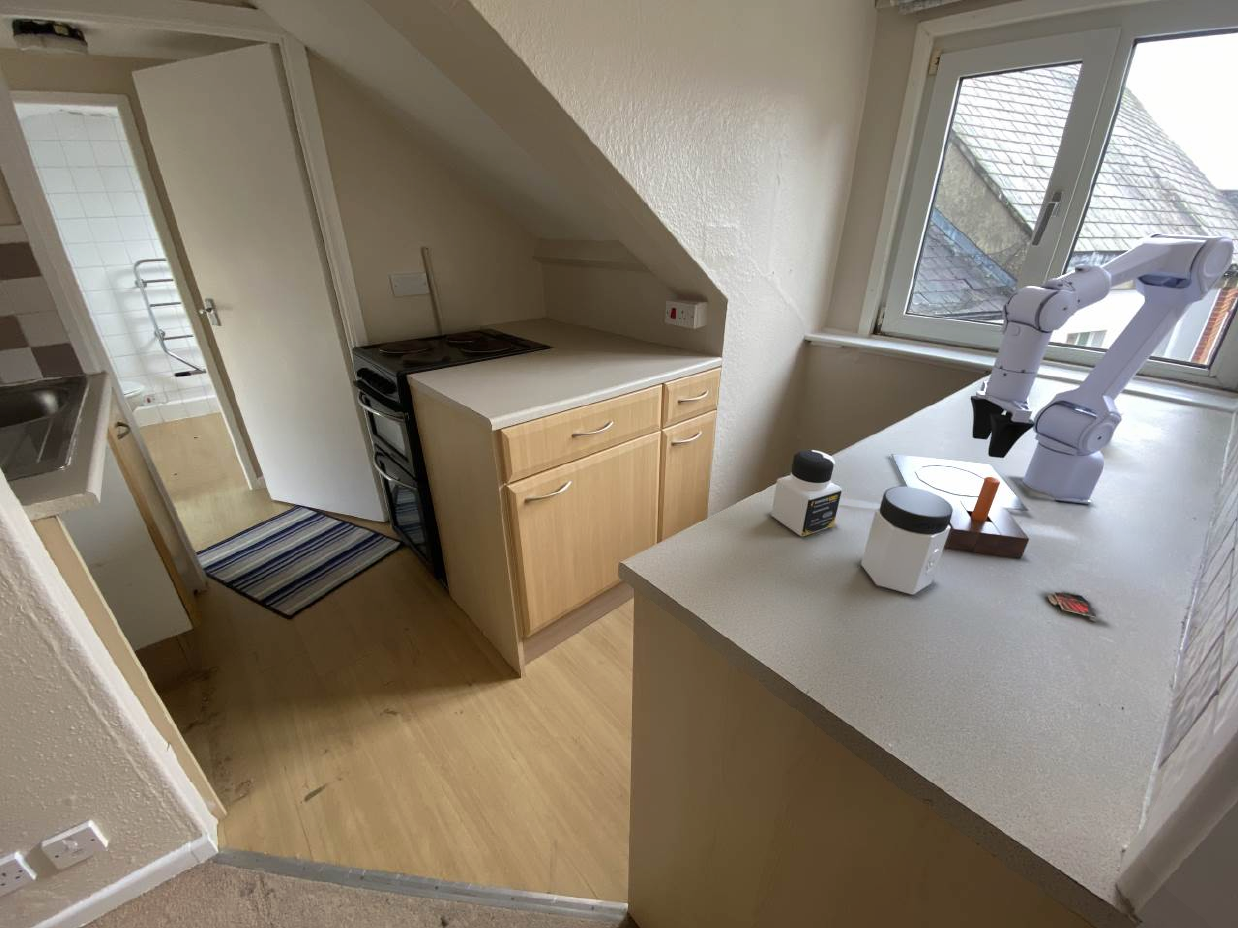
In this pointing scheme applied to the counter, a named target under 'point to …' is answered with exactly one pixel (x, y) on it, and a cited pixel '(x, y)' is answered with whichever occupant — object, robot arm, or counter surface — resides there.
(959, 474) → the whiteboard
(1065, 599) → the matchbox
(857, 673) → the counter surface
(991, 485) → the marker
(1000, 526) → the pen stand
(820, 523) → the medicine bottle
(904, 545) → the jar
